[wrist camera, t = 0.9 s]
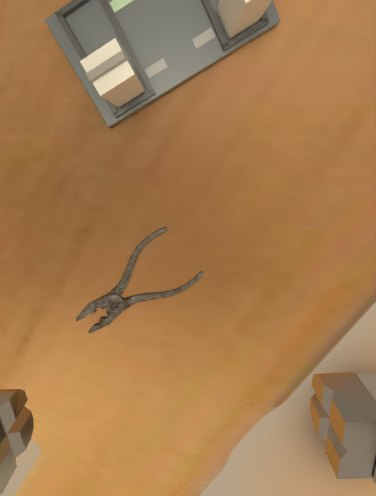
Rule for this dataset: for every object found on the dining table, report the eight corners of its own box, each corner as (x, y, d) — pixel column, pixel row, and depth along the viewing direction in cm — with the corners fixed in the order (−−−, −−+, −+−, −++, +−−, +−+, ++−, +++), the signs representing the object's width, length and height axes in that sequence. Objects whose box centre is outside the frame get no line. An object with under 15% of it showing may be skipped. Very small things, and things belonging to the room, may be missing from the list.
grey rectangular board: (111, 127, 37) (106, 126, 35) (50, 25, 34) (41, 17, 31) (276, 26, 34) (282, 17, 32) (228, -98, 31) (232, -117, 28)
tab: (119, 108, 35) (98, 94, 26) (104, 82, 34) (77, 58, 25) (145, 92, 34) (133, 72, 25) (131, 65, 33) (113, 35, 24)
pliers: (212, 266, 43) (125, 357, 47) (211, 263, 44) (125, 353, 48) (159, 222, 40) (72, 322, 45) (159, 220, 41) (74, 319, 46)
